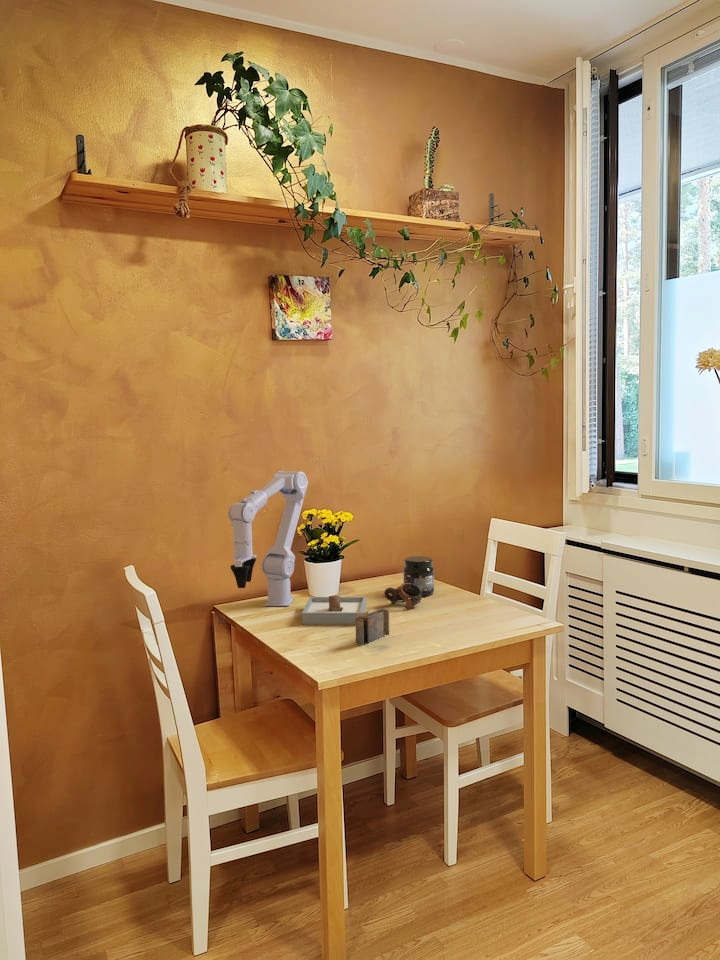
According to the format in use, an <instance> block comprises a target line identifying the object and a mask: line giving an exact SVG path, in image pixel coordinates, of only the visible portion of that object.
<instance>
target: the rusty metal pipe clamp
mask: <svg viewBox="0 0 720 960" xmlns="http://www.w3.org/2000/svg"><path fill="white" fill-rule="evenodd" d="M410 587H411V588H413V590H414V591H418V593H419V595H418V596H409V595H407V594H406V593H405V590H407V589H409V588H410ZM383 593H384V597H385V598H386V600H388V601H390V603H391V604H393V605H395V604H396V603H397V602H399V601H402V602H405V605H404V609H406V610H410V609H412V607H414V606H416V605H418V604H419V603H421V601H422V598H423V597H422V596H421V594H422V591H421V589H420V588H419V587H418V586H416V585H415V584H412V583H404V582H403V583H401V585H399V586H398V587H397V588H394V587H387V588H386V589H385V590H384V592H383ZM390 594H391V595H390Z"/></svg>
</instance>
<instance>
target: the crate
mask: <svg viewBox="0 0 720 960" xmlns="http://www.w3.org/2000/svg"><path fill="white" fill-rule="evenodd" d="M366 610H367V597H366V596H340V612H329V596H309V598H308V600H307V602H306V604H305V606H304V608H303V610H302V612H301V625H302V626H304V625H305V626H309V625H310V626H311V625H313V626H315V625H316V626H317V625H320V626H321V625H322V626H323V625H324V626H326V625H328V626H329V625H331V626H333V625H334V626H335V625H339V626H341V625H342V626H343V625H344V626H345V625H348V626H350V624H351V626H352V625H353V626H355V625H354V624H356V623H355V618H357V615H359V614H362V613H364V612H366Z"/></svg>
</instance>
